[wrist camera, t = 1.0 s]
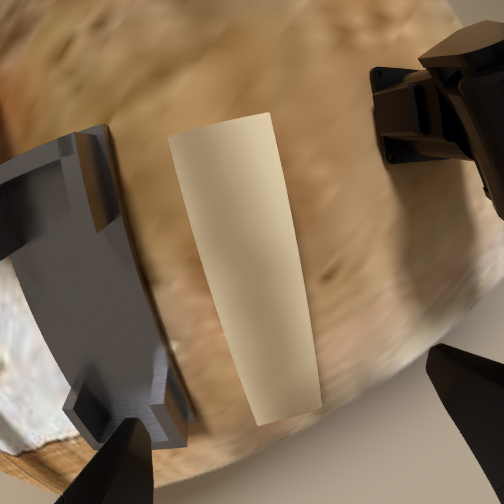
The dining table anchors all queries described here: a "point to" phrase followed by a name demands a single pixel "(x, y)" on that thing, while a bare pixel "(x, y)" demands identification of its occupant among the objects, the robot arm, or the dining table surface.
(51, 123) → the dining table surface
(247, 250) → the beige rectangular block
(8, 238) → the bracket
